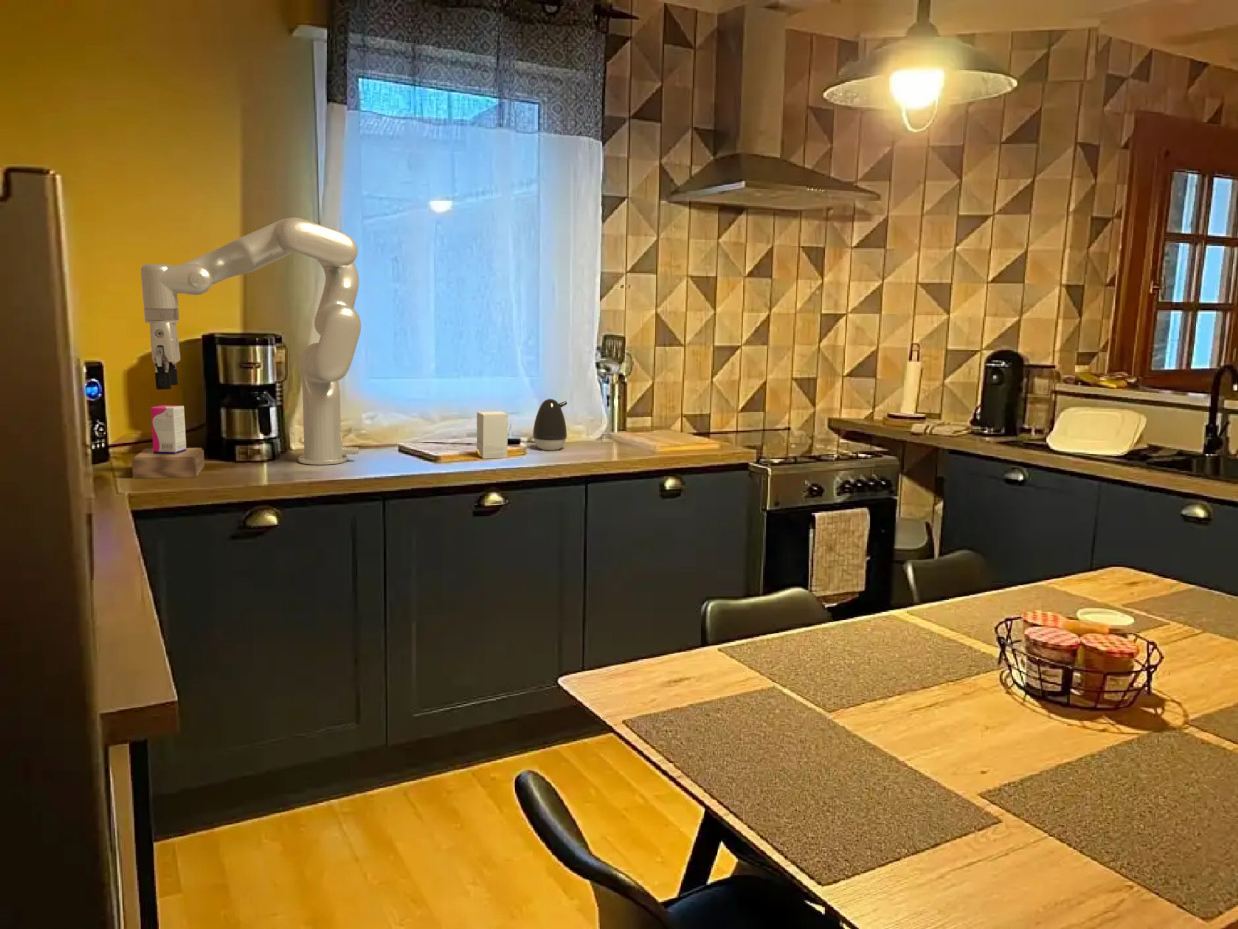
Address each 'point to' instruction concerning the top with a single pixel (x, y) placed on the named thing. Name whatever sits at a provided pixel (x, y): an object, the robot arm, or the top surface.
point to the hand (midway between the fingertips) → (167, 387)
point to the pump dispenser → (550, 426)
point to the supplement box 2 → (492, 434)
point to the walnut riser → (168, 464)
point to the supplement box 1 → (168, 429)
